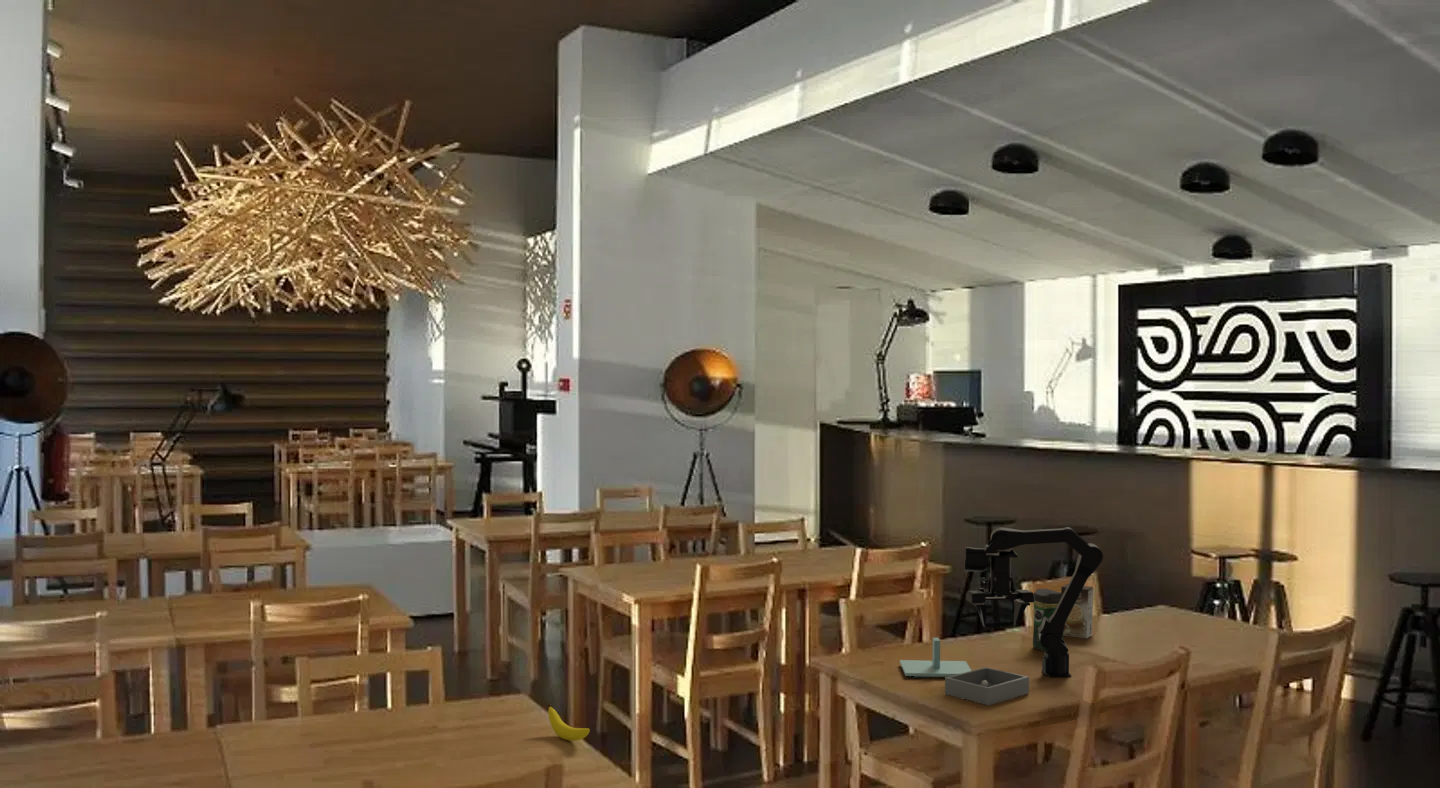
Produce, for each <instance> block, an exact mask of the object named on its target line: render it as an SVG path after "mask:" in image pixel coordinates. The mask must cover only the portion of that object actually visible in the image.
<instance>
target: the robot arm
mask: <svg viewBox="0 0 1440 788" xmlns="http://www.w3.org/2000/svg"><path fill="white" fill-rule="evenodd" d="M1051 543H1052V544H1055V543H1057V544H1059V543H1066V544H1067V545H1069V546H1070V548H1072V549H1073V550H1074V551H1076V552H1077V553H1078V556H1077V559H1076V560H1077V561H1076V563H1075V569H1074V572H1073V574H1072V576H1071V578H1070V580H1069V582H1068V583H1067V584H1068V586H1067V588H1066V589H1065V591H1064V593H1063V595H1062V597H1061V599H1060V601H1059V603H1058V605H1057V607H1056V609H1055V611H1054V613H1053V614H1052V616H1051V617H1050V618H1049V619H1048V618H1046V617H1045V616H1044V618H1043V621H1042V624H1041V625H1040V626H1039V627H1038V630H1039V639H1040V642H1041V644H1042V646H1043V647H1045V648H1046V649H1047V650H1048V651H1043V657H1042V659H1041V662H1042V663H1041V665H1042V666H1041V667H1042V668H1041V673H1043V674H1045V675H1047V677H1049V678H1055V677H1057V678H1058V677H1062V678H1063V677H1065V678H1066V677H1072V673H1070V653H1069V647H1068V645H1067V642H1066V641H1065V640H1064V641H1063V640H1062V636H1063V637H1064V635H1063V632H1064V627H1065V623H1066V620H1067V618H1068V616H1069V614H1070V612H1071V610H1072V608H1073V606H1074V605H1075V603H1076V601H1077V599H1078V597H1079V595H1080V593H1081V591H1082V589H1083V587H1084V586H1086V583H1087V581H1088V579H1089V578H1090V577H1091V576H1092V575H1093V574H1094V572H1095V571H1096V570H1097V569H1098V568H1099V566H1100V565H1101V564H1102V563H1103V561H1104V555H1103V552H1102V549H1100V547H1099V546H1098V545H1096V543H1095V544H1094V543H1089V542H1087V541H1086V540H1085V539H1083V538H1082V537H1081V536H1080V535H1079V534H1078V533H1076V531H1074V530H1073V528H1071V527H1070V526H1069V527H1068V526H1067V527H1061V528H1044V529H1043V528H1042V529H1026V530H1025V529H1024V530H1023V529H1016V528H1011V527H1009V528H1008V527H1001V526H1000V527H997V528H994V529H993V530H992V532H991V534H990V539H989V541H988V542H987V543H986V544H985V546H983V548H982V547H971V546H970V547H968V546H966V547H965V556H964V571H965V572H985V570H986V569H988V568H989V557H990V573H989V574H988V578H987V579H986V577H978V578H977V589H978V590H967V592H966V593H965V600H966V601H967V602H969V603H970V604H972V605H973V606H975V607H976V609H977V610H976V611H978V612H977V613H978V615H979V618H980V621H981V623H982V626H983V628H986V627H987V609H988V608H987V606H988V605H987V603H985V602H986V601H992V600H993V601H1000V600H1001V601H1002V600H1005V601H1006V600H1013V605H1014V610H1013V611H1014V613H1013V626H1014V627H1017V626H1018V624H1019V622H1020V620H1021V619H1022V616H1023V614H1024V612H1025V610H1026V609H1027V607H1028V606H1031V603H1033V602H1035V595H1034V592H1033V591H1031V590H1028V589H1015V591H1014V592H1013V591H1011V589H1012V588H1011V587H1012V582H1013V576H1012V558H1015V559H1016V558H1018V557H1019V555H1018V553H1017V552H1016V551H1014V548H1016V547H1020V546H1023V545H1036V544H1051ZM997 551H998V552H997ZM995 552H997V553H995ZM982 590H983V591H982Z"/></svg>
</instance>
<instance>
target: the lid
mask: <svg viewBox="0 0 1440 788" xmlns="http://www.w3.org/2000/svg"><path fill="white" fill-rule="evenodd" d="M931 659H932V660H919V659H918V660H916V659H912V660H911V659H910V660H909V659H906V660H905V659H899V664H900V666H901V668H902V670H903V674H904V676H905V677H911V676H914V677H913V678H930V677H950V676H954V675H958V674H961V673H965V672H969V671H973V670H972V669H971V667H970V666H969V664H968V662H967V661H966V660H941V639H940V637H932V657H931Z"/></svg>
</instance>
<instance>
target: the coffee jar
mask: <svg viewBox="0 0 1440 788" xmlns="http://www.w3.org/2000/svg"><path fill="white" fill-rule="evenodd" d="M1033 593H1034V595H1035V602H1032V603H1033V609H1034V610H1033V611H1034V613H1033V614H1034V615H1033V616H1034V617H1033V633H1032V647H1033V648H1034V649H1037V650H1039V651H1041V650H1042V652H1046V651H1048V650H1047V649H1046V648H1045V647H1043V646H1042V644H1041V642H1040V639H1039V630H1038V627H1039V626H1040V625H1041V624H1042V621H1043V618H1044V616H1045V617H1046V618H1048V619H1049V618H1050V617H1051V616H1052V614H1053V613H1054V611H1055V609H1056V607H1057V605H1058V603H1059V601H1060V599H1061V597H1062V595H1063V594H1061V592H1058V591H1055V590H1052V589H1049V588H1038V589H1036V590H1035V591H1034V592H1033ZM1062 640H1063V641H1064V642H1065V640H1064V635H1063V636H1062Z"/></svg>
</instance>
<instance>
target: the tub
mask: <svg viewBox="0 0 1440 788" xmlns="http://www.w3.org/2000/svg"><path fill="white" fill-rule="evenodd" d="M1029 688H1030V677H1029V676H1027V675H1022V674H1019V673H1014V672H1009V671H1006V670H1001V669H996V668H991V667H988V666H987V667H986V666H985V667H981V668H977V669H973V670H972V671H969V672H965V673H961V674H958V675H954V676H950V677H946V678H944V695H945V694H947V695H946V696H949V695H951V696H950V697H953V696H955V697H954V698H957V697H958V698H957V699H961V698H963V699H962V700H964V699H967V700H966V701H968V700H971V701H970V702H972V701H974V702H973V703H976V702H977V704H980V703H981V704H980V705H984V704H985V706H991V705H995V704H998V703H1002V702H1005V701H1009V700H1012V699H1014V698H1015V697H1016V698H1018V696H1019V697H1022V696H1025V695H1024V694H1026V695H1029V694H1028V693H1030V689H1029ZM1021 695H1022V696H1021Z"/></svg>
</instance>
